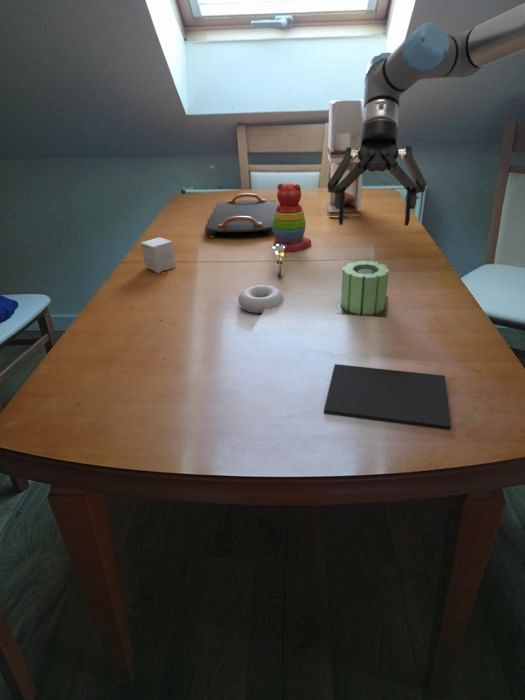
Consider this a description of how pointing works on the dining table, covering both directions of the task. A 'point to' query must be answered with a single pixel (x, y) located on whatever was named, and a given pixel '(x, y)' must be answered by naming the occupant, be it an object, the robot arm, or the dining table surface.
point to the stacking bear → (289, 219)
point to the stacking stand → (379, 314)
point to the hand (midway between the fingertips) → (373, 222)
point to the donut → (260, 298)
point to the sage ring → (364, 287)
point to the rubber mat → (389, 396)
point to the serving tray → (242, 215)
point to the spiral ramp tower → (340, 136)
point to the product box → (158, 254)
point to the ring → (279, 256)
